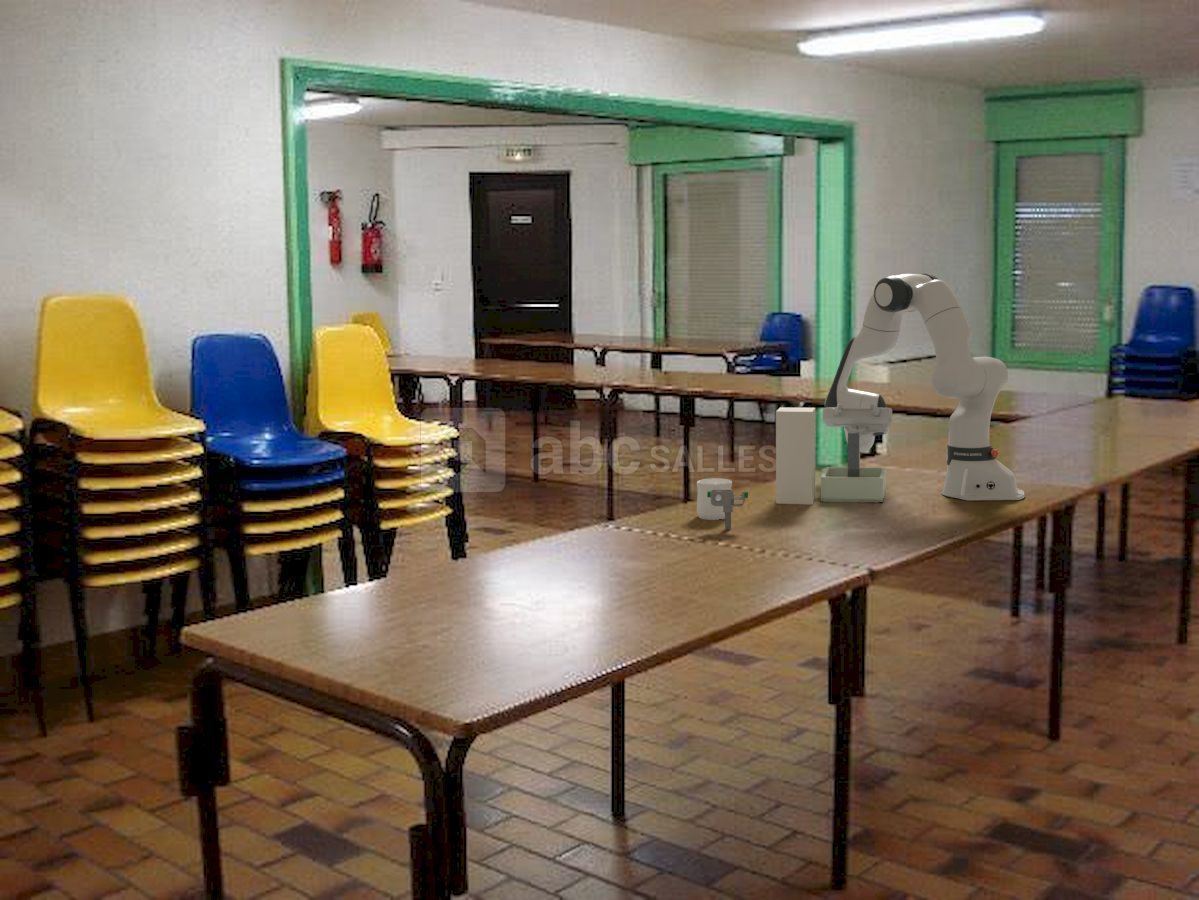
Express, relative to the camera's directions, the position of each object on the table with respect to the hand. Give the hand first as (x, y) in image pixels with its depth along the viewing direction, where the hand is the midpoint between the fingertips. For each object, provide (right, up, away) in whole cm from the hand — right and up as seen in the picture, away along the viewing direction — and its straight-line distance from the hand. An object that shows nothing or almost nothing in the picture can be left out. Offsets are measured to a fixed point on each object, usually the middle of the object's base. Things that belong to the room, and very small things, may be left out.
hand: (856, 406), depth 383 cm
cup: (-44, -31, -29) cm, 61 cm away
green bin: (-2, -26, -6) cm, 27 cm away
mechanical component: (-42, -33, -45) cm, 70 cm away
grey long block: (-2, -16, -6) cm, 17 cm away
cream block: (-19, -27, -10) cm, 35 cm away
